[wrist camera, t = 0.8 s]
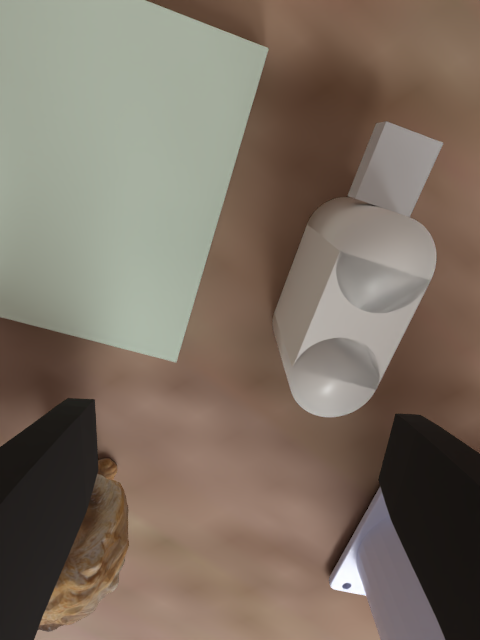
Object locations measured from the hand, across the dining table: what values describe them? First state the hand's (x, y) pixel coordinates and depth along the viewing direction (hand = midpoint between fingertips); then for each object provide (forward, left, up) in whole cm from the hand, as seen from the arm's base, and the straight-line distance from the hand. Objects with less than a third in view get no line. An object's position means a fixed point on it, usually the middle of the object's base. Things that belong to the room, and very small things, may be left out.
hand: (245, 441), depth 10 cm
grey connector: (-3, -4, -9) cm, 10 cm away
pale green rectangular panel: (+6, -4, -9) cm, 11 cm away
